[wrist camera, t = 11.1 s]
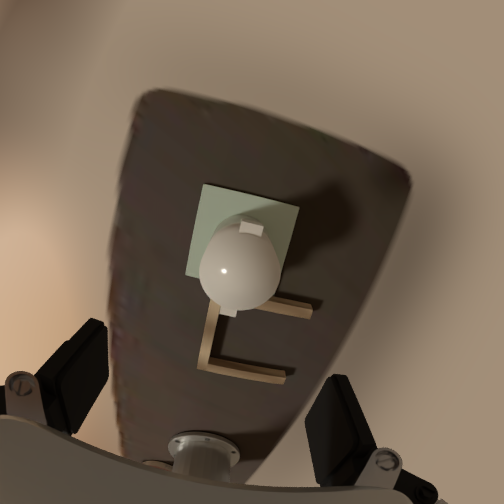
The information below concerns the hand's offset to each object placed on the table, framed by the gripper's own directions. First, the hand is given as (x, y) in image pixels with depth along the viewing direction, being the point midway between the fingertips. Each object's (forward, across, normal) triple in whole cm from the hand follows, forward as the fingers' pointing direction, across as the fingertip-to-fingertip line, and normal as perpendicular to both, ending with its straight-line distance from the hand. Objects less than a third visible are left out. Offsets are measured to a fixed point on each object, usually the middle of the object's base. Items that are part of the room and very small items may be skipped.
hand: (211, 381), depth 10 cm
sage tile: (+20, 0, -1) cm, 20 cm away
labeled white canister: (+20, 0, -1) cm, 20 cm away
